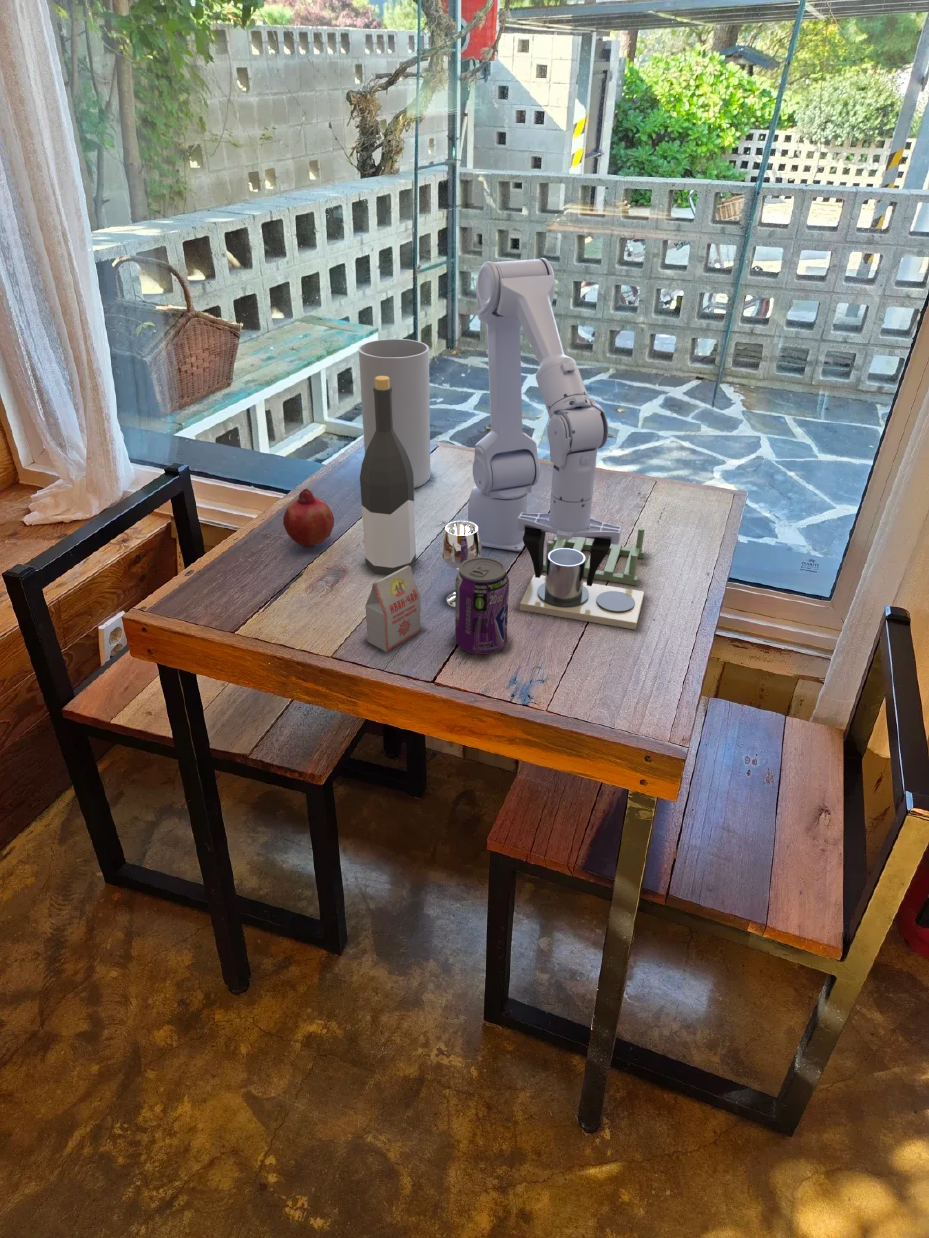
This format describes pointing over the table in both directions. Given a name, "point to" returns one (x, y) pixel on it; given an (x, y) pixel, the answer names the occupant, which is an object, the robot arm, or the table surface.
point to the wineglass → (460, 546)
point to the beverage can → (481, 605)
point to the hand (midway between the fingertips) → (564, 578)
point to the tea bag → (393, 610)
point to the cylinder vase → (400, 396)
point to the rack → (614, 552)
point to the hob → (587, 604)
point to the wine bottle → (387, 493)
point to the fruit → (308, 520)
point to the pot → (565, 574)
